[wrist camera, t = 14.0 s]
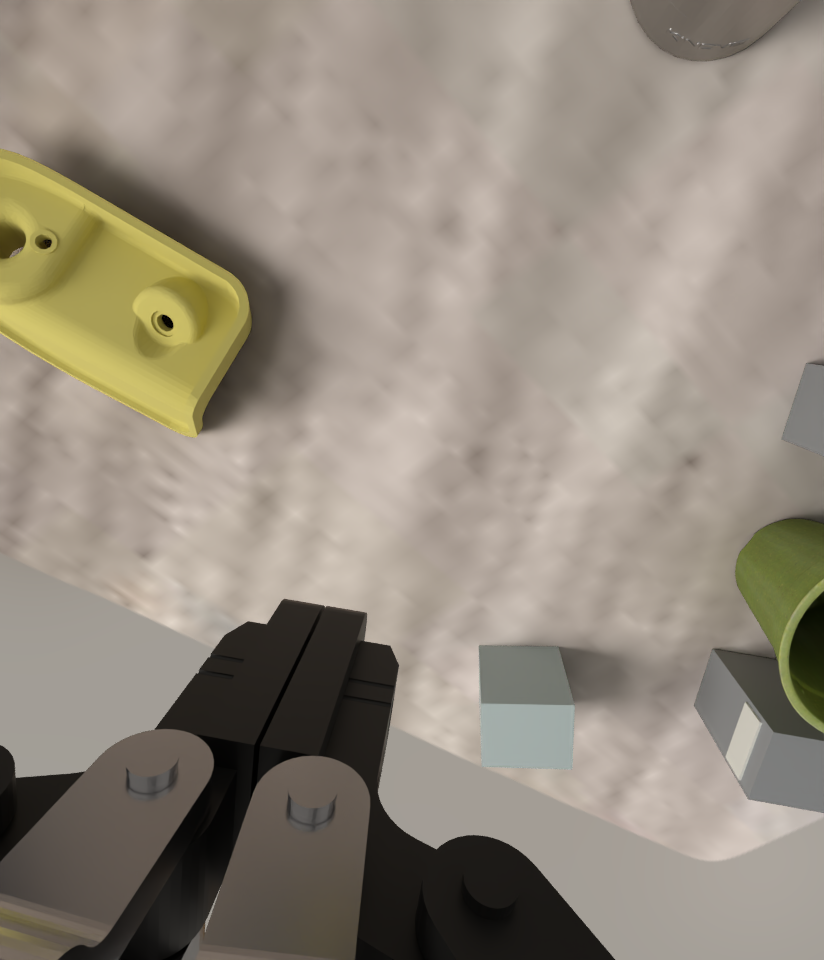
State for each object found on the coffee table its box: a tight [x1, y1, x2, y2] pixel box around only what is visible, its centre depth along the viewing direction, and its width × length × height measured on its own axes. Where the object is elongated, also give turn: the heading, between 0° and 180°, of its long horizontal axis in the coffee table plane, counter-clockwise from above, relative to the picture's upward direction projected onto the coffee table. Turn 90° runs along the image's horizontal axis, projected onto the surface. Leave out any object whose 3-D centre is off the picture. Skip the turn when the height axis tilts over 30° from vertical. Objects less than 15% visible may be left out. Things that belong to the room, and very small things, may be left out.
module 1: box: [479, 646, 575, 769], centre depth 42 cm, size 5×6×7 cm
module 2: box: [694, 649, 824, 813], centre depth 40 cm, size 5×10×9 cm, turn 82°
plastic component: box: [0, 149, 252, 437], centre depth 39 cm, size 20×7×10 cm
